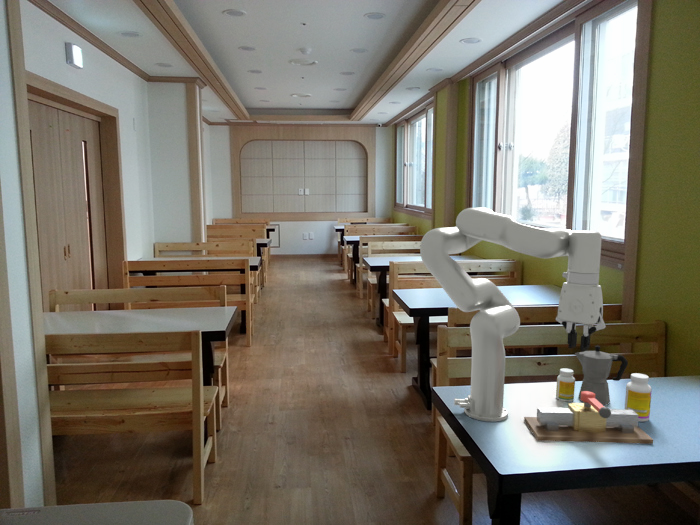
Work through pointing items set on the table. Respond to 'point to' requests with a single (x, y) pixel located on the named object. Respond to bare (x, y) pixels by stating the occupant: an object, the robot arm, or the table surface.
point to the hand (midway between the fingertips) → (578, 348)
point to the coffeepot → (599, 372)
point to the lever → (594, 404)
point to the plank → (586, 434)
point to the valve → (586, 419)
